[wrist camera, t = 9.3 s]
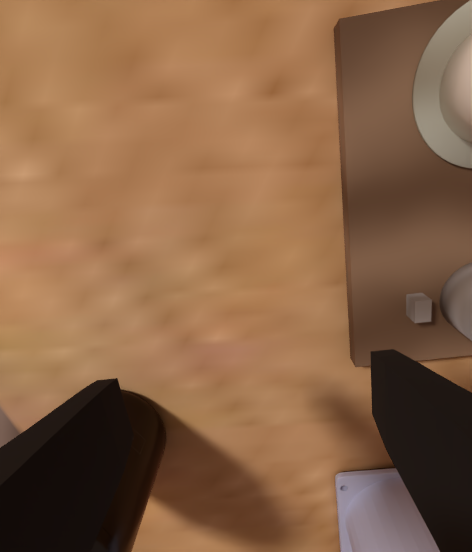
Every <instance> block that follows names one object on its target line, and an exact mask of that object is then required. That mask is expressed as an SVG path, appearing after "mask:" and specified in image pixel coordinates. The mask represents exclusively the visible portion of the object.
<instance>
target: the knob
mask: <svg viewBox="0 0 472 552" xmlns="http://www.w3.org/2000/svg"><path fill="white" fill-rule="evenodd" d="M439 101H440V108H441V113H442V115H443V118H444V120H445V122H446V124H447V125H448V127H449V128H450V129H451V131H452V132H454V133H455V134H456V135H457V136H458V137H460V138H461V139H463V140H466V141H468V142H471V143H472V34H471V35H469V36H468V37H467V38H466V39H465V40H464V41H463V42H462V43H461V44H460V45H459V46H458V48H457V49H456V50H455V52H454V53H453V54H452V56H451V57H450V59H449V61H448V63H447V65H446V67H445V70H444V72H443V75H442V79H441V83H440V90H439Z"/></svg>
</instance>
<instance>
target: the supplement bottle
mask: <svg viewBox="0 0 472 552" xmlns="http://www.w3.org/2000/svg"><path fill="white" fill-rule="evenodd" d="M121 393H122V396H123V400H124V403H125V407H126V410H127V414H128V417H129V421H130V424H131V427H132V431H133V434H134V437H133V441H132V444H131V448H130V452H129V456H128V459H127V463H126V466H125V470H124V473H123V475H122V478H121V480H120V483H119V485H118V488H117V490H116V492H115V495H114V497H113V500H112V502H111V505H110V507H109V509H108V512H107V514H106V517H105V519H104V521H103V524H102V526H101V529H100V531H99V533H98V536H97V538H96V541H95V543H94V545H93V548H92V550H91V552H131V551H132V548H133V545H134V542H135V539H136V536H137V533H138V530H139V527H140V524H141V521H142V518H143V515H144V512H145V509H146V506H147V502H148V499H149V496H150V493H151V490H152V487H153V484H154V481H155V478H156V475H157V472H158V469H159V466H160V462H161V459H162V456H163V453H164V449H165V444H166V433H165V428H164V425H163V422H162V420H161V418H160V416H159V415H158V413H157V412H156V411H155V409H154V408H153V407H152V406H151V405H150V404H149V403H147V402H146V401H145V400H143V399H142V398H140V397H138V396H136V395H134V394H132V393H129V392H126V391H122V390H121Z"/></svg>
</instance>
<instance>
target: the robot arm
mask: <svg viewBox="0 0 472 552" xmlns="http://www.w3.org/2000/svg"><path fill="white" fill-rule="evenodd" d="M370 354H371V387H372V414H373V417H374V419H375V422H376V425H377V427H378V430H379V433H380V435H381V438H382V440H383V443H384V445H385V448H386V450H387V452H388V454H389V456H390V458H391V460H392V462H393V464H394V465H395V467H396V468H390V469H378V470H365V471H352V472H341V473H338V474H337V475H336V476H335V486H336V499H337V512H338V525H339V539H340V552H472V393H471V392H469V391H467V390H465V389H464V388H462V387H460V386H458V385H456V384H455V383H453V382H451V381H449V380H447V379H446V378H444V377H442V376H440V375H439V374H437V373H435V372H433V371H432V370H430V369H428V368H426V367H425V366H423V365H421V364H420V363H418V362H416V361H414V360H413V359H411V358H409V357H407V356H406V355H404V354H402V353H400V352H398V351H396V350H394V349H390V350H380V351H371V352H370ZM133 437H134V434H133V431H132V427H131V424H130V421H129V417H128V414H127V410H126V407H125V403H124V400H123V396H122V393H121V390H120V386H119V383H118V379H117V378H116V379H107V380H97V381H96V382H94V383H92V384H90V385H89V386H87V387H86V388H84V389H83V390H81V391H80V392H79V393H77V394H76V395H74V396H73V397H71V398H70V399H69V400H67V401H66V402H65V403H63V404H62V405H60V406H59V407H58V408H56V409H55V410H53V411H52V412H51V413H49V414H48V415H47V416H45V417H44V418H42V419H41V420H40V421H38V422H37V423H36V424H34V425H33V426H31V427H30V428H29V429H27V430H26V431H24V432H23V433H21V434H20V435H18V436H17V437H16V438H14V439H13V440H11V441H10V442H8V443H7V444H6V445H4V446H2V447H1V448H0V552H91V550H92V548H93V545H94V543H95V541H96V538H97V536H98V533H99V531H100V529H101V526H102V524H103V521H104V519H105V517H106V514H107V512H108V509H109V507H110V505H111V502H112V500H113V497H114V495H115V492H116V490H117V488H118V485H119V483H120V480H121V478H122V475H123V473H124V470H125V466H126V463H127V459H128V456H129V452H130V448H131V444H132V441H133ZM344 485H345V486H344Z"/></svg>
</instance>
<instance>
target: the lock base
mask: <svg viewBox="0 0 472 552" xmlns="http://www.w3.org/2000/svg"><path fill="white" fill-rule="evenodd" d="M471 34H472V0H439V1H434V2H428V3H423V4H417V5H412V6H407V7H401V8H396V9H390V10H385V11H380V12H374V13H369V14H363V15H358V16H353V17H347V18H342V19H339V21H338V22H337V24H336V26H335V27H334V42H335V62H336V81H337V101H338V121H339V140H340V160H341V180H342V199H343V219H344V239H345V258H346V278H347V297H348V317H349V337H350V356H351V360H352V361H353V363H354V365H355V367H362V366H371V354H370V352H371V351H380V350H390V349H394V350H396V351H398V352H400V353H402V354H404V355H406V356H407V357H409V358H411V359H413V360H414V361H421V360H430V359H440V358H450V357H459V356H469V355H472V143H471V142H468V141H466V140H463V139H461V138H460V137H458V136H457V135H456V134H455V133H454V132H452V131H451V129H450V128H449V127H448V125H447V124H446V122H445V120H444V118H443V115H442V113H441V108H440V101H439V90H440V83H441V79H442V75H443V72H444V70H445V67H446V65H447V63H448V61H449V59H450V57H451V56H452V54H453V53H454V52H455V50H456V49H457V48H458V46H459V45H460V44H461V43H462V42H463V41H464V40H465V39H466V38H467V37H468V36H469V35H471Z"/></svg>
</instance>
